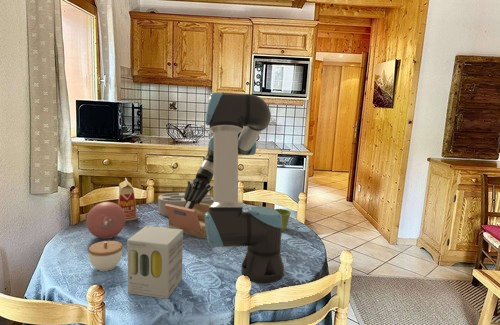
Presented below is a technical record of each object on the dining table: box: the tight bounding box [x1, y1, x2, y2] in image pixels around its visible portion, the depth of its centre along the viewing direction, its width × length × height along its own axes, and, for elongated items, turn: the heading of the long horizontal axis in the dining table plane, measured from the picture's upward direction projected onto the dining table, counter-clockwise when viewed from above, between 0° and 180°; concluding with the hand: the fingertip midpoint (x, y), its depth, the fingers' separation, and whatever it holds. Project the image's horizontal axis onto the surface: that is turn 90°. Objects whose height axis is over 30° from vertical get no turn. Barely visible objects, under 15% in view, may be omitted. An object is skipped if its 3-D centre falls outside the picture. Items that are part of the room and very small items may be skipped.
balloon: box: [85, 201, 127, 240], centre depth 144 cm, size 15×20×15 cm
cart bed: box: [168, 203, 210, 239], centre depth 163 cm, size 16×20×10 cm
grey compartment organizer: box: [157, 191, 213, 218], centre depth 187 cm, size 17×28×9 cm, turn 107°
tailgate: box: [165, 204, 202, 233], centre depth 153 cm, size 2×16×12 cm, turn 62°
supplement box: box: [127, 225, 184, 300], centre depth 110 cm, size 13×13×18 cm
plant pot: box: [273, 208, 292, 232], centre depth 168 cm, size 9×9×9 cm
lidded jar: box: [88, 240, 123, 272], centre depth 121 cm, size 11×11×9 cm
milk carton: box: [117, 177, 138, 222], centre depth 171 cm, size 9×9×20 cm
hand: (184, 215), depth 154 cm, fingers closed
